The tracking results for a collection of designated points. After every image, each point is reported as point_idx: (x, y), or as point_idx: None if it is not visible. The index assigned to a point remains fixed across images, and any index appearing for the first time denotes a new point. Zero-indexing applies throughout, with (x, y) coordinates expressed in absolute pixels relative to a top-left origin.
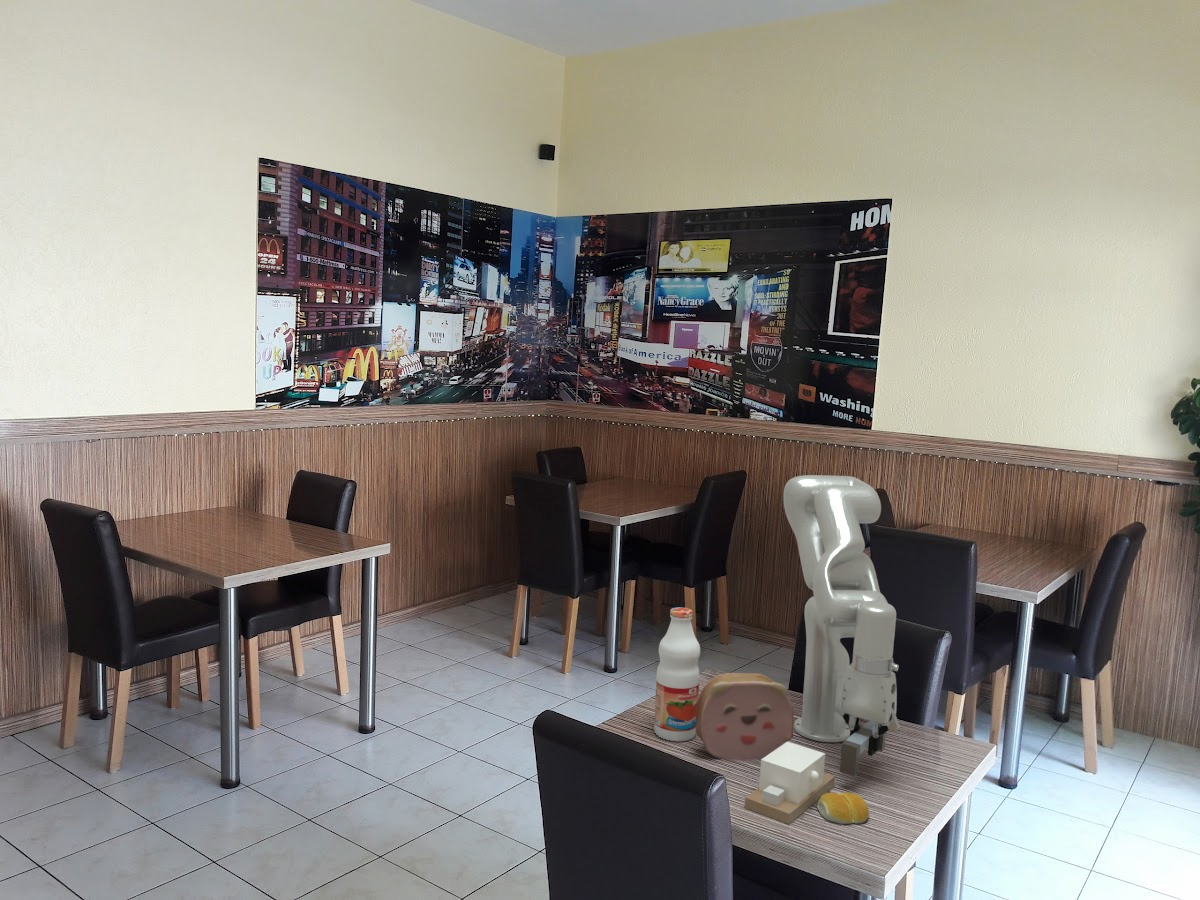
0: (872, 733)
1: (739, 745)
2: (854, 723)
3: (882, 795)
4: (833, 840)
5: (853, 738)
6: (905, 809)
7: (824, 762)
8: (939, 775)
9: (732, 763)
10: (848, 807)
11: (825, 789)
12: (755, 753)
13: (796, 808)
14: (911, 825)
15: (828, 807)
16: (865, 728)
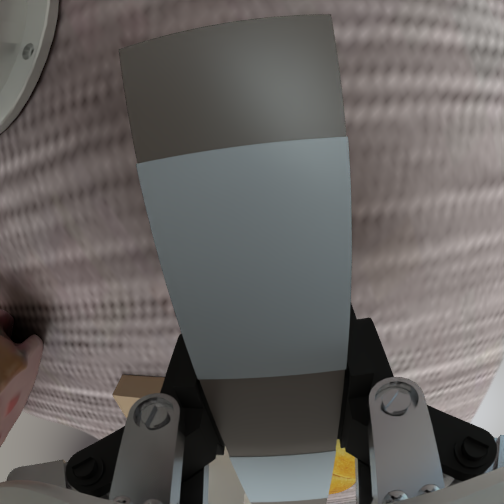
0: (356, 463)
1: (18, 401)
2: (206, 501)
3: (395, 330)
4: (353, 486)
5: (268, 488)
6: (462, 347)
7: (244, 494)
8: (487, 26)
9: (47, 399)
10: None
11: None
12: (32, 372)
13: None
14: (474, 389)
15: None
16: (240, 381)
